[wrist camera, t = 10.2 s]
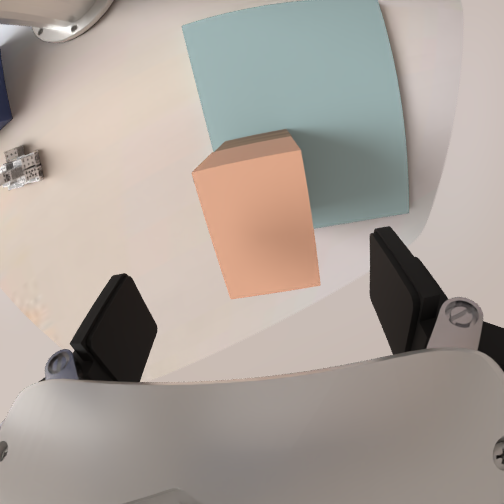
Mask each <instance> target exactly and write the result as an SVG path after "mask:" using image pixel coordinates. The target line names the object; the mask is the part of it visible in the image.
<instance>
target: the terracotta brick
mask: <svg viewBox="0 0 504 504" xmlns="http://www.w3.org/2000/svg"><path fill="white" fill-rule="evenodd" d="M192 176H193V179H194V183H195V186H196V190H197V193H198V196H199V200H200V203H201V207H202V210H203V213H204V217H205V220H206V223H207V226H208V230H209V233H210V236H211V239H212V243H213V246H214V249H215V252H216V255H217V258H218V262H219V265H220V268H221V271H222V274H223V277H224V280H225V283H226V286H227V289H228V292H229V295H230V298H231V299H236V298H243V297H250V296H257V295H264V294H271V293H277V292H284V291H290V290H296V289H302V288H308V287H314V286H320V276H319V267H318V259H317V251H316V243H315V236H314V228H313V221H312V214H311V208H310V201H309V195H308V188H307V182H306V176H305V170H304V165H303V159H302V154H301V149H300V148H299V147H298V145H297V144H296V142H295V141H294V140H293V138H292V137H291V136H289V137H283V138H278V139H272V140H267V141H262V142H257V143H252V144H247V145H242V146H238V147H233V148H229V149H224V150H220V151H216V152H212V153H211V154H210V155H209V156H208V157H207V158H206V159H205V160H204V161H203V162H202V163H201V164H200V165H199V166H198V167H197V168H196V169H195V170H194V171H193V172H192Z"/></svg>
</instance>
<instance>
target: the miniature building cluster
mask: <svg viewBox="0 0 504 504" xmlns="http://www.w3.org/2000/svg"><path fill="white" fill-rule="evenodd" d="M20 156H21V157H20ZM5 157H6V162H7V163H5V164H3V165H2V167H0V186H1V185H3V188H4V187H6V186H8V190H9V191H10V190H11V189H14V188H15V187H16V188H19V187H22V186H24V185H26V184H28V183H32V182H37V181H40V180H42V179H44V177H43V172H42V168H41V165H40V166H36V165H38V164H41V163H40V160H39V155H38V150H36V151H33V153H30V154H27V155H24V149H23V145H22V146H19V147H16V148H13V149H11V150H8V151H6V152H5ZM16 158H17V160H16V161H13V162H10V163H8V161H10V160H13V159H16Z"/></svg>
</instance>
